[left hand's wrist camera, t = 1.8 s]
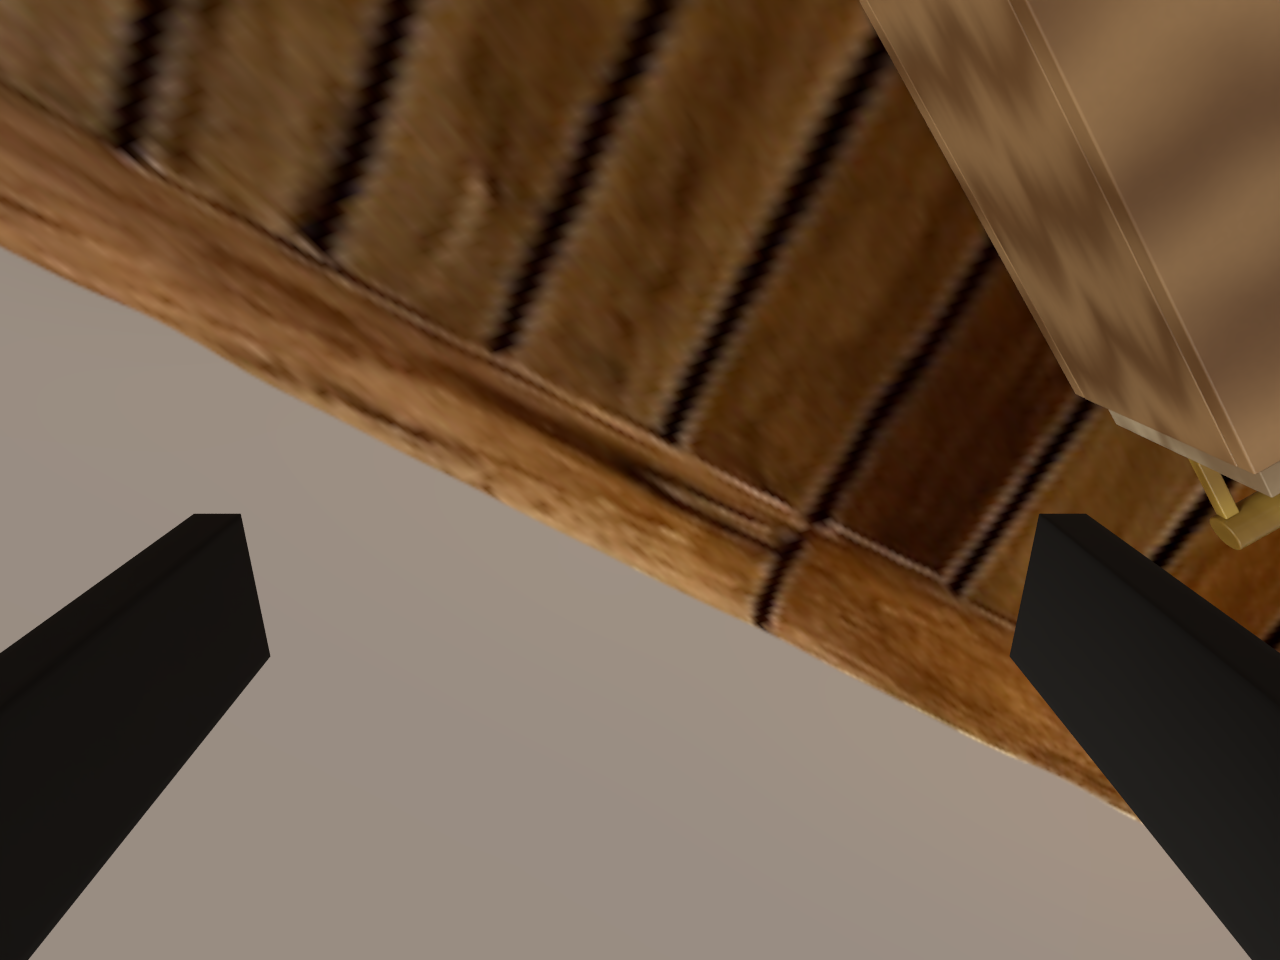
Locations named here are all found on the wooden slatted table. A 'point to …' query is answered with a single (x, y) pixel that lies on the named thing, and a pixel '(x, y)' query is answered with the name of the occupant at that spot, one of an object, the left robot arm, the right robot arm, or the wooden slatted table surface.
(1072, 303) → the cabinet
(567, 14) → the wooden slatted table surface
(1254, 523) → the drawer
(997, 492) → the wooden slatted table surface
